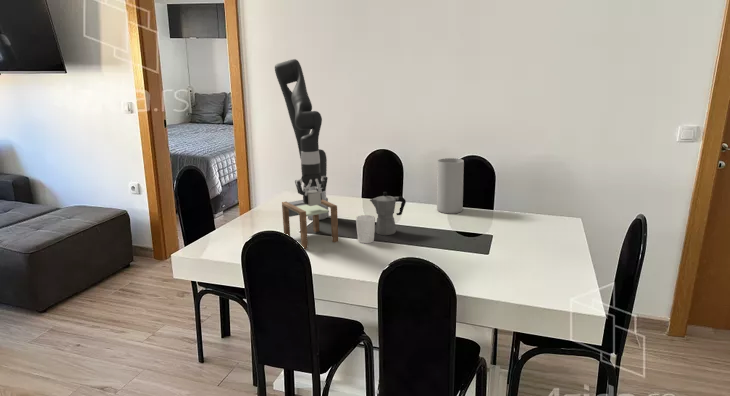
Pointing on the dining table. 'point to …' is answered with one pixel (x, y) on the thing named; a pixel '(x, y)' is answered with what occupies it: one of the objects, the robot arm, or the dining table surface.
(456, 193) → the cylinder vase
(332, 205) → the frame
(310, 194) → the gray cube
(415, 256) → the dining table surface
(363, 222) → the white cup
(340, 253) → the dining table surface
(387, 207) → the coffeepot
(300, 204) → the trapdoor
